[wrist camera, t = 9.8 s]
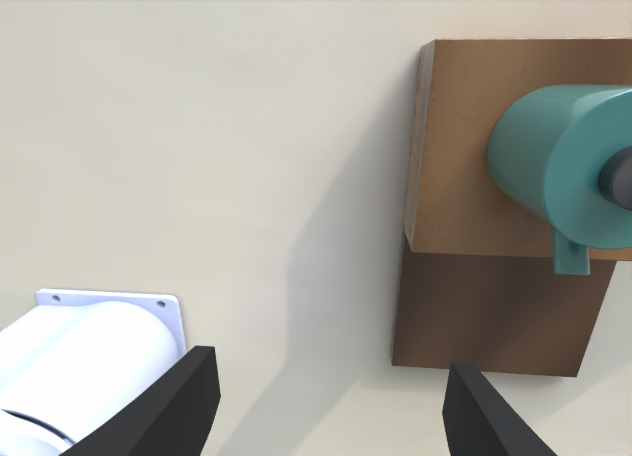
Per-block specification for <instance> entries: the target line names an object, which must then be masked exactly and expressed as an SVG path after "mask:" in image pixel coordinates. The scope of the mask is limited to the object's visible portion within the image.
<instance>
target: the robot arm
mask: <svg viewBox="0 0 632 456" xmlns="http://www.w3.org/2000/svg"><path fill="white" fill-rule="evenodd" d="M58 297H59V298H58ZM35 299H36V302H37V305H38V306H36V307H35V308H34V309H32V310H31V311H29V312H28V313H27V314H25V315H24V316H22V317H21V318H20V319H18V320H17V321H15V322H14V323H13V324H11V325H10V326H8V327H7V328H6V329H4V330H3V331H1V332H0V456H200V454H201V452H202V449H203V447H204V445H205V442H206V440H207V438H208V435H209V433H210V430H211V427H212V424H213V421H214V418H215V415H216V411H217V408H218V404H219V401H220V397H221V394H220V386H219V378H218V371H217V363H216V355H215V347H211V346H195V347H193V348H192V349H191V350H190V351H189V352H188V353H187V349H186V343H185V336H184V330H183V324H182V318H181V312H180V306H179V301H178V299H177V298H176V297H174V296H171V295H156V294H136V293H117V292H98V291H78V290H59V289H41V290H39V291H38V292H36V293H35ZM160 301H162V302H164V303H165V305H164V304H162V303H161V302H160ZM442 415H443V420H444V426H445V431H446V437H447V442H448V447H449V451H450V454H451V456H557V455H556V454H555V453H554V452H553V451H552V450H551V449H550V448H549V447H548V446H547V445H546V444H545V443H544V442H543V441H542V440H541V439H540V438H539V437H538V435H537V434H536V433H535V432H534V431H533V430H532V429H531V428H530V427H529V426H528V425H527V424H526V423H525V422H524V421H523V419H522V418H521V417H520V416H519V415H518V414H517V413H516V412H515V411H514V410H513V409H512V407H511V406H510V405H509V404H508V403H507V402H506V401H505V400H504V398H503V397H502V396H501V395H500V394H499V393H498V392H497V390H496V389H495V388H494V387H493V386H492V385H491V383H490V382H489V381H488V380H487V379H486V378H485V377H484V375H483V374H482V373H481V372H480V371H479V370H478V368H477V367H476V366H475V365H474V364H473V363H466V362H451V366H450V372H449V377H448V383H447V389H446V394H445V400H444V405H443V411H442Z"/></svg>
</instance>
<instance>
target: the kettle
mask: <svg viewBox="0 0 632 456" xmlns="http://www.w3.org/2000/svg"><path fill="white" fill-rule="evenodd" d="M487 164H488V169H489V172H490V175H491V177H492V179H493V181H494V183H495V184H496V185H497V187H498V188H499V189H500V190H501V191H502V192H503V193H505V194H506V195H507V196H509V197H510V198H512V199H513V200H514V201H516V202H517V203H518V204H520V205H521V206H523V207H524V208H525V209H527V210H528V211H530V212H531V213H532V214H534V215H535V216H537V217H538V218H539V219H541V220H542V221H543V222H545V223H546V224H548V225H549V226H550V227H551V248H552V270H553V274H555V275H590V266H589V249H588V247H590V248H594V249H604V250H613V249H624V248H631V247H632V85H587V84H561V85H552V86H546V87H543V88H540V89H537V90H535V91H533V92H531V93H529V94H527V95H525V96H523V97H522V98H520V99H519V100H518V101H516V102H515V103H514V104H513V105H512V106H511V107H509V108H508V109H507V110H506V112H505V113H504V114H503V115H502V116H501V118H500V119H499V121H498V122H497V124H496V126H495V127H494V129H493V131H492V134H491V137H490V139H489V143H488V149H487Z"/></svg>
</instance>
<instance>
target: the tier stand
mask: <svg viewBox="0 0 632 456" xmlns="http://www.w3.org/2000/svg"><path fill="white" fill-rule="evenodd" d="M561 84H587V85H632V37H620V38H478V39H435V40H433V41H431V42H429V43H427V44H426V45H424V46H422V47H421V51H420V61H419V71H418V81H417V92H416V102H415V112H414V122H413V132H412V142H411V152H410V163H409V173H408V183H407V193H406V203H405V213H404V223H403V228H404V229H403V235H402V245H401V255H400V265H399V275H398V285H397V295H396V306H395V316H394V326H393V336H392V346H391V356H390V358H391V364H392V365H393V366H407V367H422V368H438V369H450V366H451V362H466V363H473V364H474V365H475V366H476V367H477V368H478V370H479V371H484V372H500V373H515V374H531V375H546V376H562V377H577V374H578V371H579V369H580V366H581V363H582V360H583V357H584V354H585V351H586V348H587V346H588V343H589V340H590V337H591V334H592V331H593V328H594V325H595V323H596V320H597V317H598V314H599V311H600V308H601V305H602V302H603V300H604V297H605V294H606V291H607V288H608V285H609V282H610V279H611V276H612V274H613V271H614V268H615V265H616V262H617V260H618V261H632V247H631V248H624V249H613V250H604V249H594V248H590V247H588V249H589V266H590V275H555V274H553V270H552V248H551V227H550V226H549V225H548V224H546V223H545V222H543V221H542V220H541V219H539V218H538V217H537V216H535V215H534V214H532V213H531V212H530V211H528V210H527V209H525V208H524V207H523V206H521V205H520V204H518V203H517V202H516V201H514V200H513V199H512V198H510V197H509V196H507V195H506V194H505V193H503V192H502V191H501V190H500V189H499V188H498V187H497V185H496V184H495V183H494V181H493V179H492V177H491V175H490V172H489V169H488V164H487V149H488V143H489V139H490V137H491V134H492V131H493V129H494V127H495V126H496V124H497V122H498V121H499V119H500V118H501V116H502V115H503V114H504V113H505V112H506V110H507V109H508V108H509V107H511V106H512V105H513V104H514V103H515V102H516V101H518V100H519V99H520V98H522V97H523V96H525V95H527V94H529V93H531V92H533V91H535V90H537V89H540V88H543V87H546V86H552V85H561Z"/></svg>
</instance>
